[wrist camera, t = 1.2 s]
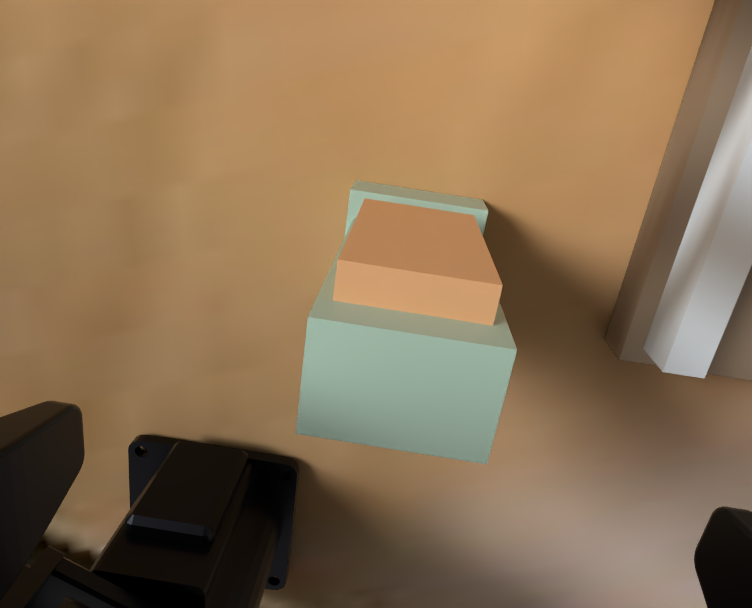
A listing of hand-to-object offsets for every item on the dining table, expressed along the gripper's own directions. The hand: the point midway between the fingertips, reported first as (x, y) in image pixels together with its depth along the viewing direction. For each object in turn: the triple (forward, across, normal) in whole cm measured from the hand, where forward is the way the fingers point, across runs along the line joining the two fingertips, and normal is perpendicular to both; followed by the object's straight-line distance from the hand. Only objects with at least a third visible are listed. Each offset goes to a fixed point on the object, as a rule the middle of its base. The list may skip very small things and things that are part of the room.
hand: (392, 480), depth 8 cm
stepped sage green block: (+11, 0, 0) cm, 11 cm away
